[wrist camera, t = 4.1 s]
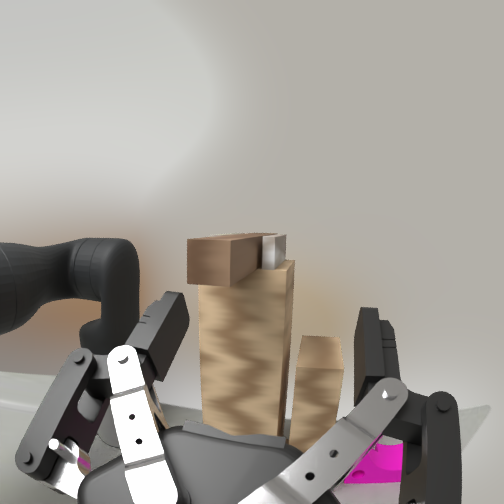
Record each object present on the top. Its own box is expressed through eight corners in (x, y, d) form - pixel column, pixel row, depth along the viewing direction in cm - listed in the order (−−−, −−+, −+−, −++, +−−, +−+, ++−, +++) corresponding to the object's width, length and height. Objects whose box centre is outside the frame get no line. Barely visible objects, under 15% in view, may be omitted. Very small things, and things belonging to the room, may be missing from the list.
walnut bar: (187, 283, 22) (187, 239, 22) (254, 255, 46) (255, 232, 46) (229, 287, 22) (230, 240, 21) (276, 256, 45) (277, 233, 45)
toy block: (429, 455, 37) (443, 420, 36) (437, 478, 31) (454, 442, 30) (343, 458, 40) (352, 423, 40) (343, 484, 34) (353, 448, 33)
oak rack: (207, 482, 35) (198, 234, 32) (227, 444, 45) (227, 232, 42) (318, 497, 32) (355, 240, 29) (321, 455, 41) (346, 236, 39)
